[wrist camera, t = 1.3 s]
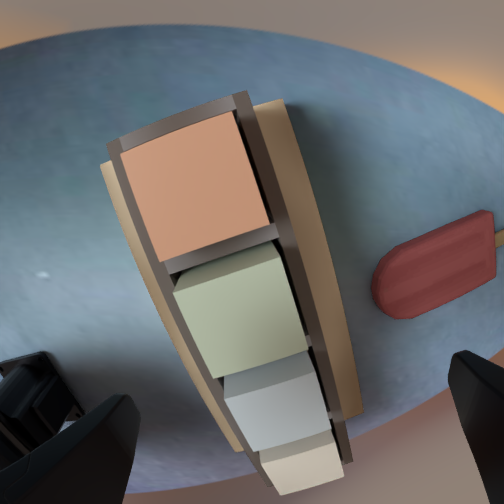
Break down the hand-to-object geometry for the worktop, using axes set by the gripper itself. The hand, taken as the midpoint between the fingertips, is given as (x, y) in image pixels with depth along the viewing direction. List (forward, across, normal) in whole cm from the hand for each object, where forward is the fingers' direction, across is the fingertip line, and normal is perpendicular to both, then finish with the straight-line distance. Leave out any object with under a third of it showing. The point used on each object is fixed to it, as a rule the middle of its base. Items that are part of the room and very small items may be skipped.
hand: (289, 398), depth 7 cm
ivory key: (+7, +1, +10) cm, 12 cm away
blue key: (+7, +1, +5) cm, 9 cm away
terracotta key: (+7, +3, -5) cm, 9 cm away
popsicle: (+14, -12, +3) cm, 19 cm away
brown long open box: (+11, +2, +3) cm, 12 cm away
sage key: (+7, +2, 0) cm, 7 cm away
